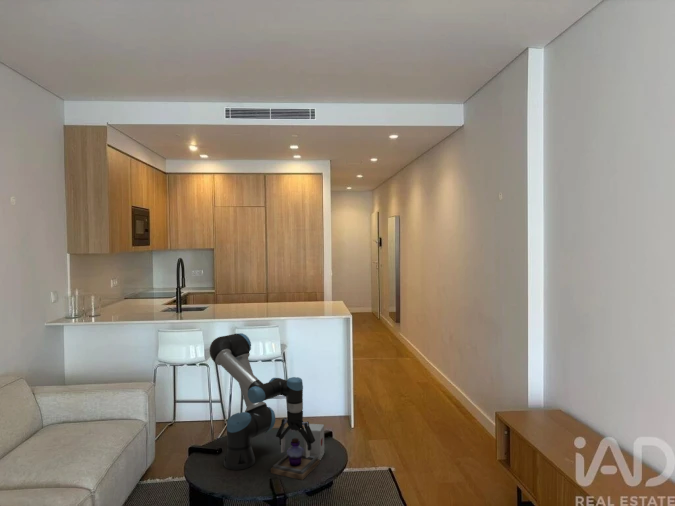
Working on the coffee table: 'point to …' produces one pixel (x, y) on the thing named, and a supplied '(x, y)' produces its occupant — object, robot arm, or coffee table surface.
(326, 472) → the coffee table surface
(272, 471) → the jig plate
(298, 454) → the potion bottle
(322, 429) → the supplement box
